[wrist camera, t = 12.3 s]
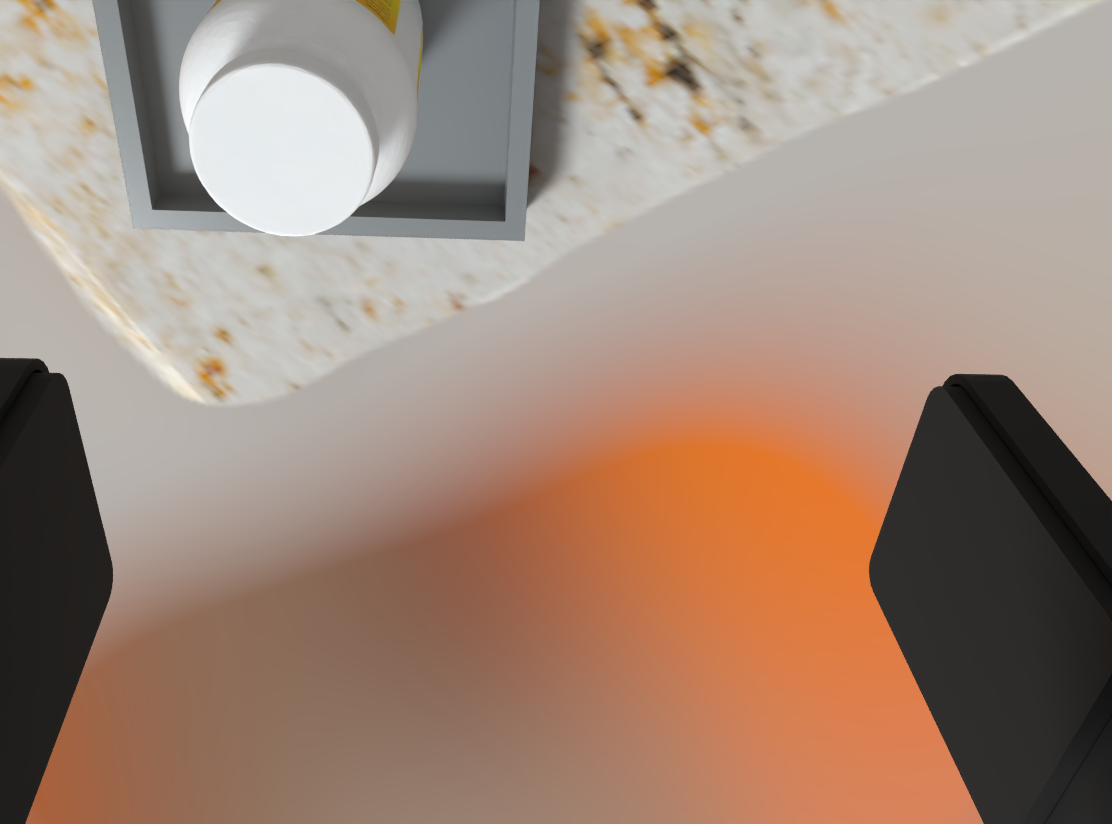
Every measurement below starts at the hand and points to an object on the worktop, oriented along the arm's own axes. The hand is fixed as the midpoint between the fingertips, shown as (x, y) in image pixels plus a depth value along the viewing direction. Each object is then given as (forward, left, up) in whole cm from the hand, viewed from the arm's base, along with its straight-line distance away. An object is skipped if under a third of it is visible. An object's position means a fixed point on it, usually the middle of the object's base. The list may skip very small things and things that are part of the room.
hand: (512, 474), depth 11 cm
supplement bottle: (+5, +3, -30) cm, 30 cm away
